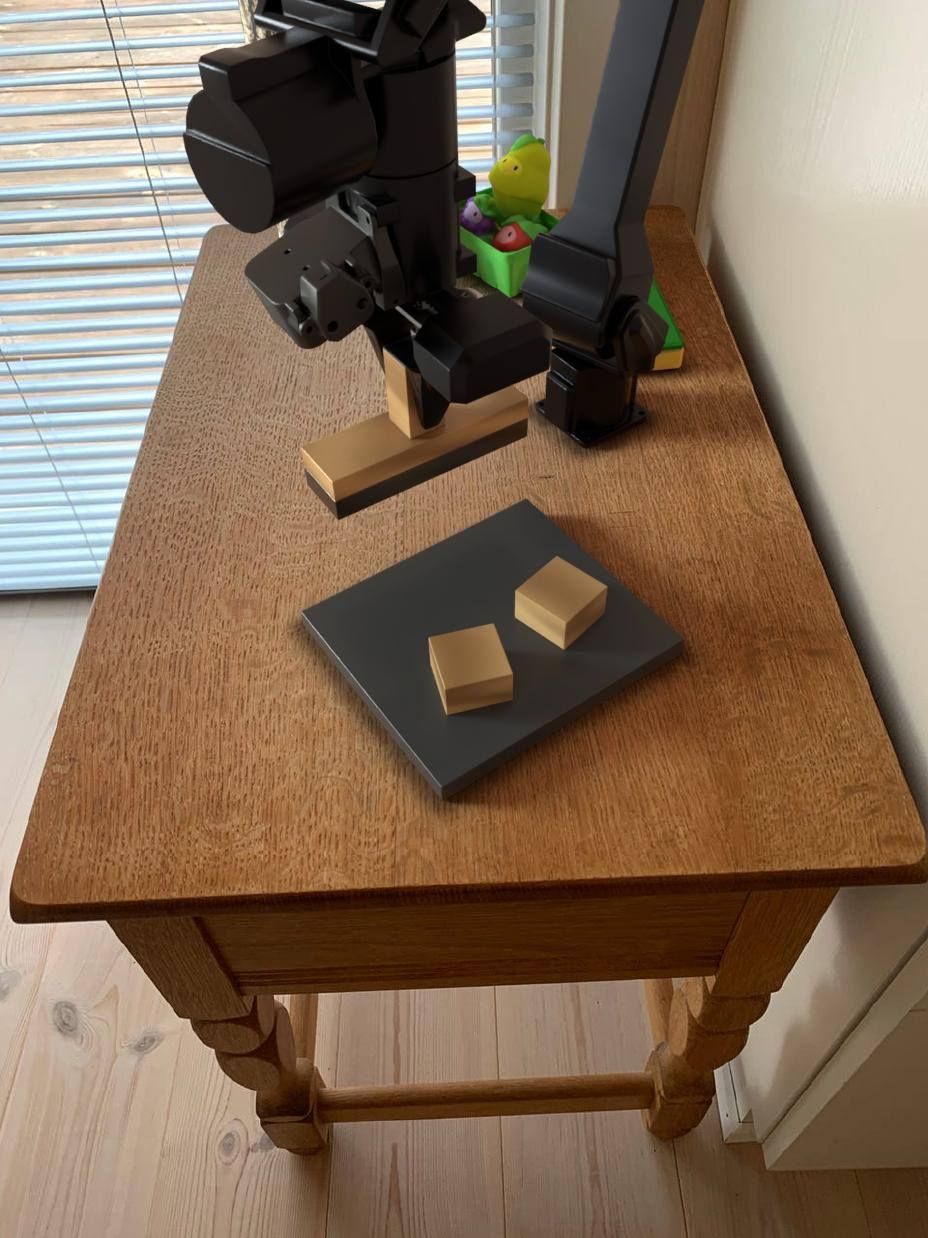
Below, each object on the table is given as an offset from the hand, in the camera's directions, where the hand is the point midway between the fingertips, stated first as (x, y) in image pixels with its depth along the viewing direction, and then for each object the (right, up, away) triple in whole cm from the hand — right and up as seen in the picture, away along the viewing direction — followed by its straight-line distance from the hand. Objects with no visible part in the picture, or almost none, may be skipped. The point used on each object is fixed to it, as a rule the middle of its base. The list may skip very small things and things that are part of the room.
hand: (417, 414), depth 60 cm
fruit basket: (+7, +20, +33) cm, 39 cm away
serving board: (+4, -14, +3) cm, 15 cm away
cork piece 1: (+3, -16, -1) cm, 17 cm away
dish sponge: (+16, +13, +26) cm, 33 cm away
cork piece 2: (+9, -12, +2) cm, 15 cm away
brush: (0, -2, +3) cm, 4 cm away
